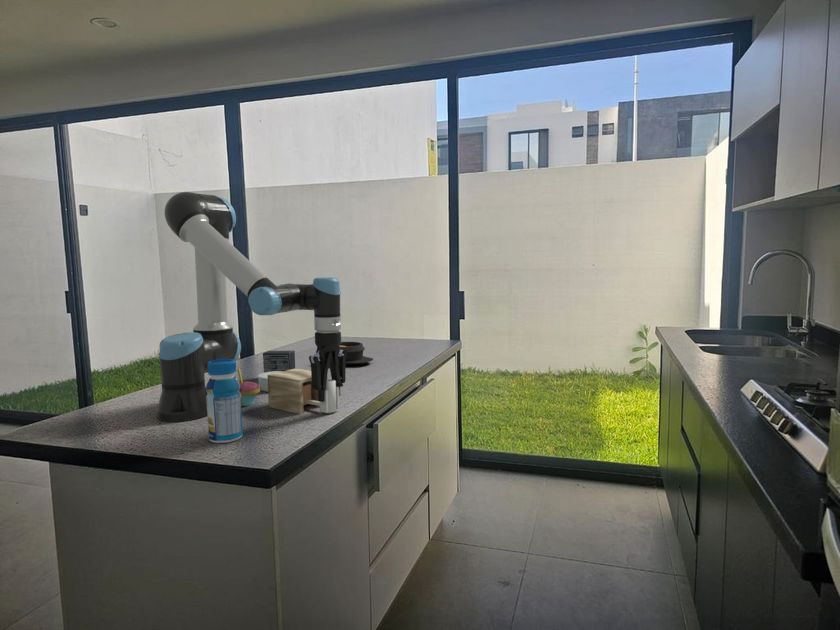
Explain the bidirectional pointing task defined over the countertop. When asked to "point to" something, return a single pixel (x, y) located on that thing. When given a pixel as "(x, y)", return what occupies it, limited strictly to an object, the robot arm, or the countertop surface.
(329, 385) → the tethered block
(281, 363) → the small box
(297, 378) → the shelf slot
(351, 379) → the countertop surface
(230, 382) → the beverage bottle
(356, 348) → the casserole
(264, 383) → the ramekin
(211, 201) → the robot arm
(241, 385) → the cupcake
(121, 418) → the countertop surface
